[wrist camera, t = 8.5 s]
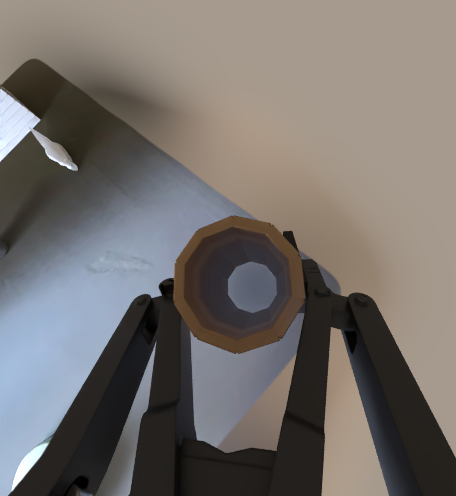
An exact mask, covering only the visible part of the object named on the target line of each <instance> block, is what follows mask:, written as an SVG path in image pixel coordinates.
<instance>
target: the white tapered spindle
mask: <svg viewBox="0 0 456 496" xmlns="http://www.w3.org/2000/svg"><path fill="white" fill-rule="evenodd" d="M29 129H30V130H31V131H32V133H33V134H34V136H35V137H36V138H37V140H38V141H39V143H40V144H41V145H42V146H43V147H44V148H45V152H46V154H47V156H48V157H50V158H51V159H52V160H54V161H57V162H58V163H59V164H61V165H63V166H67V167H68V168H70V169H71V170H74V171H78V168H77V166H76V165H75V164H74V163H73V162H72V159H71V157H70V156H69V154H68V153H67V152H66V150H65V149H64V148H63V147H62V146H61V145H60V144H58V143H54V142H52V141H51V140H49V139H48V138H46V137H45V136H43V135H41V134H40V133H39V132H37V131H35V130H34V129H32V128H31V127H29Z"/></svg>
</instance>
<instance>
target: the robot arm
mask: <svg viewBox="0 0 456 496" xmlns="http://www.w3.org/2000/svg"><path fill="white" fill-rule="evenodd" d="M283 236H284V237H285V238H286V239H287V241H288V242H289V243H290V244H291V245H292V246H293V247H294V248H295V249H296V250H297V251H298V248H297V245H296V242H295V239H294V236H293V232H292V231H284V232H283ZM298 252H299V251H298ZM299 256H300V255H299ZM301 261H302V270H303V279H304V289H305V299H304V301H305V302H304V304H303V306H302V307H301V309H300V310H299V312H298V313H305V315H304V320H303V325H302V330H301V335H300V340H299V345H298V350H297V355H296V360H295V365H294V370H293V376H292V381H291V386H290V391H289V396H288V401H287V406H286V410H285V414H284V417H283V422H282V426H281V431H280V436H279V442H278V446H277V451H272V450H265V449H257V448H249V449H244V450H240V451H235V452H231V453H224V452H223V451H221V450H219V449H217V448H215V447H214V446H212V445H210V444H208V443H206V442H204V441H198V440H197V437H196V431H195V426H194V411H193V386H192V361H191V336H190V329H189V327H188V326H187V324H186V322H185V321H184V319H183V317H182V316H181V314H180V313H179V311H178V309H177V308H176V306H175V305H174V302H175V301H173V296H174V278H169V279H166V280H164V281H162V282H161V283H160V284H159V289H160V291H161V294H162V296H159V297H155V298H151V296H150V295H148V294H143V295H140V296H138V297H137V298H135V299H134V300H133V302H132V303H131V305H130V307H129V308H128V310H127V312H126V313H125V315H124V317H123V318H122V320H121V322H120V324H119V325H118V327H117V329H116V330H115V332H114V334H113V335H112V337H111V339H110V340H109V342H108V344H107V345H106V347H105V349H104V351H103V352H102V354H101V356H100V357H99V359H98V361H97V362H96V364H95V366H94V367H93V369H92V371H91V373H90V374H89V376H88V378H87V379H86V381H85V383H84V384H83V386H82V388H81V389H80V391H79V393H78V394H77V396H76V398H75V400H74V401H73V403H72V405H71V406H70V408H69V410H68V411H67V413H66V415H65V416H64V418H63V420H62V422H61V423H60V425H59V427H58V428H57V430H56V432H55V433H54V435H53V437H52V438H51V440H50V442H49V443H48V445H47V447H46V449H45V450H44V452H43V454H42V455H41V457H40V458H39V459H38V460H37V461H36V463H35V464H34V465H33V466H32V467H31V469H30V470H29V471H28V472H27V474H26V475H25V476H24V477H23V478H22V480H21V481H20V482H19V483H18V484H17V486H16V487H15V488H14V489H13V491H12V492H11V493H10V494H9V495H8V496H95V494H96V492H97V490H98V488H99V486H100V484H101V482H102V480H103V478H104V476H105V474H106V472H107V469H108V467H109V465H110V462H111V460H112V457H113V455H114V452H115V449H116V447H117V444H118V441H119V439H120V436H121V433H122V431H123V428H124V425H125V423H126V420H127V417H128V415H129V412H130V409H131V407H132V404H133V401H134V399H135V396H136V393H137V391H138V388H139V385H140V383H141V380H142V377H143V375H144V372H145V369H146V367H147V364H148V361H149V359H150V356H151V353H152V351H153V348H154V345H155V343H156V349H155V357H154V365H153V373H152V381H151V389H150V397H149V405H148V409H147V411H146V412H145V413H144V414H143V416H142V418H141V423H140V429H139V436H138V443H137V450H136V457H135V464H134V471H133V477H132V484H131V491H130V494H129V495H128V496H321V493H322V476H323V461H324V443H325V434H324V420H325V405H326V390H327V376H328V361H329V345H330V331H331V327H333V328H337V329H341V331H342V335H343V338H344V342H345V345H346V349H347V352H348V356H349V359H350V363H351V366H352V369H353V373H354V376H355V380H356V383H357V387H358V390H359V394H360V397H361V400H362V404H363V407H364V411H365V414H366V417H367V421H368V424H369V428H370V431H371V435H372V438H373V441H374V445H375V449H376V452H377V455H378V459H379V462H380V465H381V469H382V472H383V476H384V480H385V483H386V486H387V489H388V493H389V496H456V458H455V456H454V454H453V452H452V450H451V448H450V446H449V444H448V442H447V440H446V438H445V436H444V434H443V433H442V431H441V429H440V427H439V425H438V423H437V421H436V419H435V417H434V415H433V413H432V412H431V410H430V408H429V405H428V404H427V402H426V400H425V398H424V396H423V394H422V392H421V390H420V388H419V386H418V384H417V382H416V381H415V378H414V377H413V375H412V373H411V371H410V369H409V367H408V365H407V363H406V361H405V359H404V357H403V356H402V353H401V351H400V350H399V348H398V346H397V344H396V342H395V340H394V338H393V336H392V334H391V332H390V330H389V328H388V326H387V325H386V322H385V321H384V319H383V317H382V315H381V313H380V311H379V309H378V307H377V305H376V303H375V302H374V300H373V299H372V298H371V297H369V296H368V295H365V294H363V293H352V294H350V295H349V296H348V297H344V296H340V295H337V294H334V293H332V291H331V290H330V289H329V288H328V287H326V285H325V282H324V280H323V277H322V275H321V273H320V270H319V268H318V265H317V263H316V262H315V261H313V260H312V259H307V260H301ZM305 308H306V310H305ZM156 340H157V341H156Z"/></svg>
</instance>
